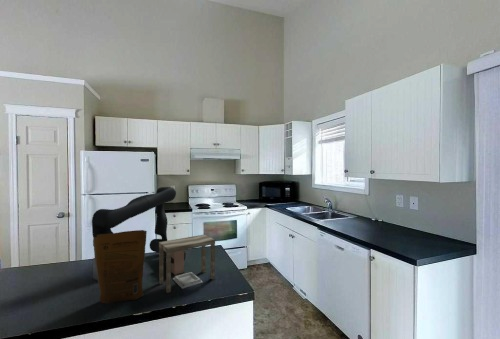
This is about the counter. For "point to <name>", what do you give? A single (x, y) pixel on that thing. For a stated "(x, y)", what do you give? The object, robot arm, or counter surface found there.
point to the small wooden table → (184, 245)
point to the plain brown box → (177, 262)
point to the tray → (187, 280)
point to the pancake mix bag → (120, 265)
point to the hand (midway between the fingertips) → (178, 260)
